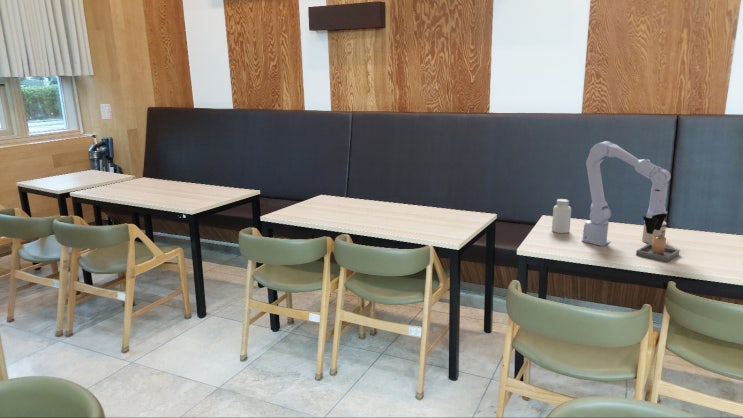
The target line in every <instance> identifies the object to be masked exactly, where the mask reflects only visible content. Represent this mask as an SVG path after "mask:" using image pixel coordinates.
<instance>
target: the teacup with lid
mask: <svg viewBox="0 0 743 418" xmlns="http://www.w3.org/2000/svg"><path fill="white" fill-rule="evenodd" d="M667 225H668V223H667V222H666V221H665V220H664V222H663V224H662V226H661V229H660V230H655V229H654V232H653V234H649V233H647V231H646V224H645V221H644V220H643V229H642V230H643V231H642V236H641V241H642V242H644V243H646V244H647V245H648V244H652V241H653V236H662V237H665V236H666V229H667ZM665 238H666V237H665Z"/></svg>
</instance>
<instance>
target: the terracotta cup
mask: <svg viewBox="0 0 743 418" xmlns="http://www.w3.org/2000/svg"><path fill="white" fill-rule="evenodd" d="M666 242H667V237H662V236H653V241H652V248H651V253H652V254H657V255H661V256H663V255H664V251H665V247H666Z"/></svg>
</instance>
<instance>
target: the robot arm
mask: <svg viewBox="0 0 743 418" xmlns="http://www.w3.org/2000/svg"><path fill="white" fill-rule="evenodd" d="M606 158H618V159H620V160H621V161H624V162H625V163H627V164H629V165H631V166H633V167H634V169H635V172H637V173H638V174H639V175H642V176H644V177H645V178H646V179H648V180H650V181H651V183H652V184H651V189H650V190H651V191H650V196H649V203H648V204H649V205H648V208H647V212H646V214H644V215H643V217H642V219H643V222H644V221H645V224H646V231H647V233H649V234H653V232H654V229H655V230H660V229H661V226H662V224H663V222H664V221H665V220H666V218H667V216H668V215H669V214H668V211H667V210H666V202H667V194H668V184H669V181H670V180H671V178H672V176H671V175H672V174H671V173H670V172H669V170H667V169H666V168H662V167H661V166H659V165H658V166H657V165H656V164H654V163H652V162H651V160H650V159H648V158H647V159H644V158H643V159H639V158H637V157H636V156H634V155H633V154H631V153H630V152H628V151H626V150H625V149H624V148H622V147H620V146H619V145H618V144H616V143H613V142H611V141H609V140H605V141H602V142H598V143H596V144H594V145H593V146H592V147H591V148H590V149H589V154H588V156H587V158H586V161H585V165H586V171H587V172H586V173H587V177H588V185H589V191H590V198H591V205H590V209H589V210H590V212H589V220H586V221H585V223H584V225H583V229H582V231H583V234H582V239H581V242H584V243H587V244H592V245H596V246H601V247H603V246H605V245H608V244H609V243H611V241H610V240H608V231H609V224H610V223H609V219H610V218H611V216H612V211H611V209H610V207H609V204H608V202H607V201H606V199H605V191H604V185H603V179H602V172H601V167H600V166H601V163H602V162H603V161H604V160H605V159H606Z"/></svg>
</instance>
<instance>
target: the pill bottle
mask: <svg viewBox="0 0 743 418" xmlns="http://www.w3.org/2000/svg"><path fill="white" fill-rule="evenodd" d="M571 216H572V207H571V206H570V200H568V199H565V198H557V200H556V204H555V205H554V206H553V210H552V220H551V221H552V222H551V224H552V225H551V231H552V232H553V233H556V232H557V233H558V234H568V233H569V232H570V231H571V230H570V229H571V218H572V217H571Z"/></svg>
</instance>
